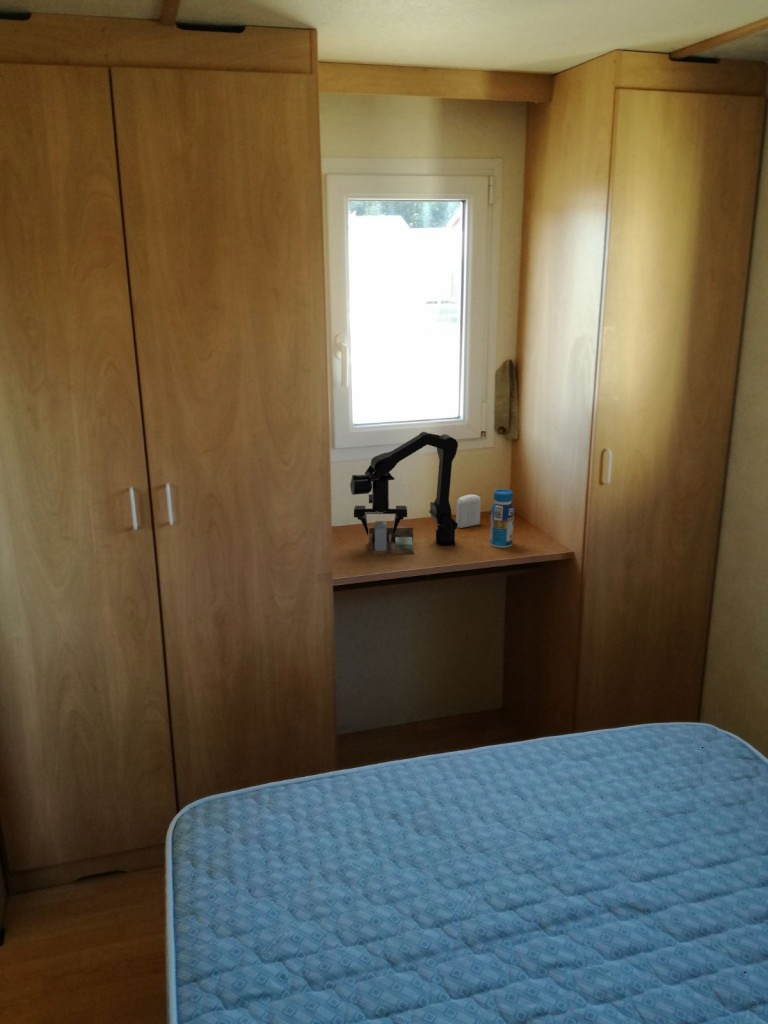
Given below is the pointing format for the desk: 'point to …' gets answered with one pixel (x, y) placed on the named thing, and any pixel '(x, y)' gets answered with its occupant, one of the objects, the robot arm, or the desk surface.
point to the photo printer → (468, 511)
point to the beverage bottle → (502, 519)
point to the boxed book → (380, 535)
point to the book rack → (394, 541)
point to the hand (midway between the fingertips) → (380, 534)
